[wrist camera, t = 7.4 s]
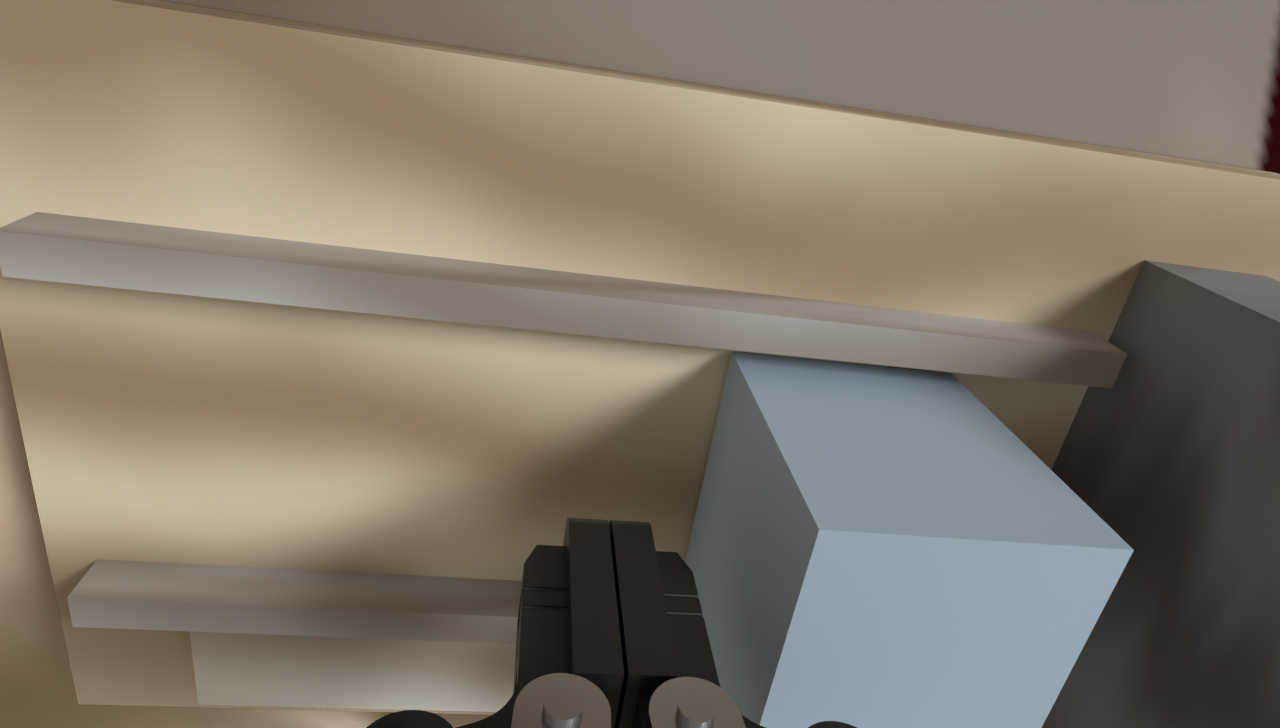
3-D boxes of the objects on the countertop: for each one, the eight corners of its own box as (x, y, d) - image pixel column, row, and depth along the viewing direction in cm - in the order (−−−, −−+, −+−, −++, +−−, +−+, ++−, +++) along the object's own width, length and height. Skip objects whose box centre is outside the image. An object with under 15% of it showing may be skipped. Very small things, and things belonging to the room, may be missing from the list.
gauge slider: (731, 351, 16) (819, 529, 11) (1013, 379, 17) (1220, 555, 12) (652, 705, 21) (688, 958, 15) (882, 711, 22) (991, 950, 16)
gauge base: (-12, -27, 13) (-974, -51, 5) (1273, 172, 18) (1953, 345, 9) (109, 656, 20) (-215, 1144, 12) (1021, 687, 24) (1274, 1066, 16)
